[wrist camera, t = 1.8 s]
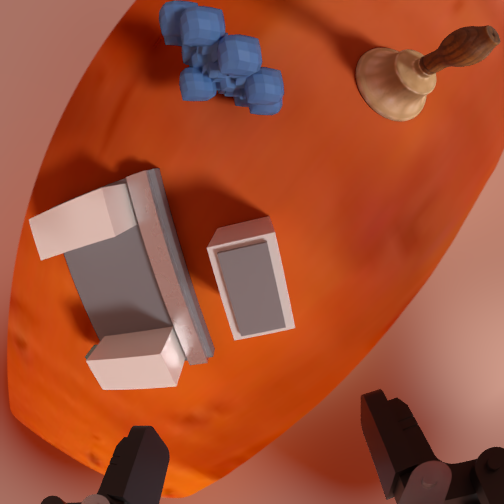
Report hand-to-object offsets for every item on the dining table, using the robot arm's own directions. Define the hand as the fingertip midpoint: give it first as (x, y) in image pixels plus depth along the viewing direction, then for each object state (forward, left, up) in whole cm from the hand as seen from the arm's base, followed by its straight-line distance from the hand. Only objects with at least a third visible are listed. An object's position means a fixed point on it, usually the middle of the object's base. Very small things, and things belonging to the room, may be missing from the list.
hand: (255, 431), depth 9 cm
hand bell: (-15, +18, -20) cm, 31 cm away
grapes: (-17, +1, -20) cm, 26 cm away
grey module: (0, 0, -20) cm, 20 cm away
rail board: (-1, -13, -20) cm, 24 cm away
